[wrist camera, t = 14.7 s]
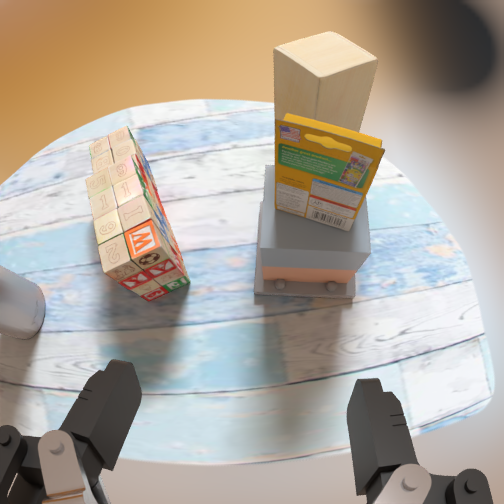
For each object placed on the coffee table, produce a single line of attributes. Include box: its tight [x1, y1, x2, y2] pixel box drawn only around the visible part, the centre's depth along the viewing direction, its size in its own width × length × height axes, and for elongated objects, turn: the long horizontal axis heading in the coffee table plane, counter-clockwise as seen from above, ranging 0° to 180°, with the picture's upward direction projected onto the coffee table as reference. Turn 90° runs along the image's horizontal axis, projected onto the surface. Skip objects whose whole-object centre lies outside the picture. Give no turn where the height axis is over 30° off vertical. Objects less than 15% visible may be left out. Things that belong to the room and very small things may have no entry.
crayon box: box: [274, 113, 385, 231], centre depth 24 cm, size 7×3×12 cm, turn 69°
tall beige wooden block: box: [273, 31, 378, 136], centre depth 34 cm, size 8×7×21 cm
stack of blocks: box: [86, 126, 190, 301], centre depth 37 cm, size 21×6×12 cm, turn 24°
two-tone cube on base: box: [254, 165, 371, 298], centre depth 34 cm, size 12×12×11 cm
